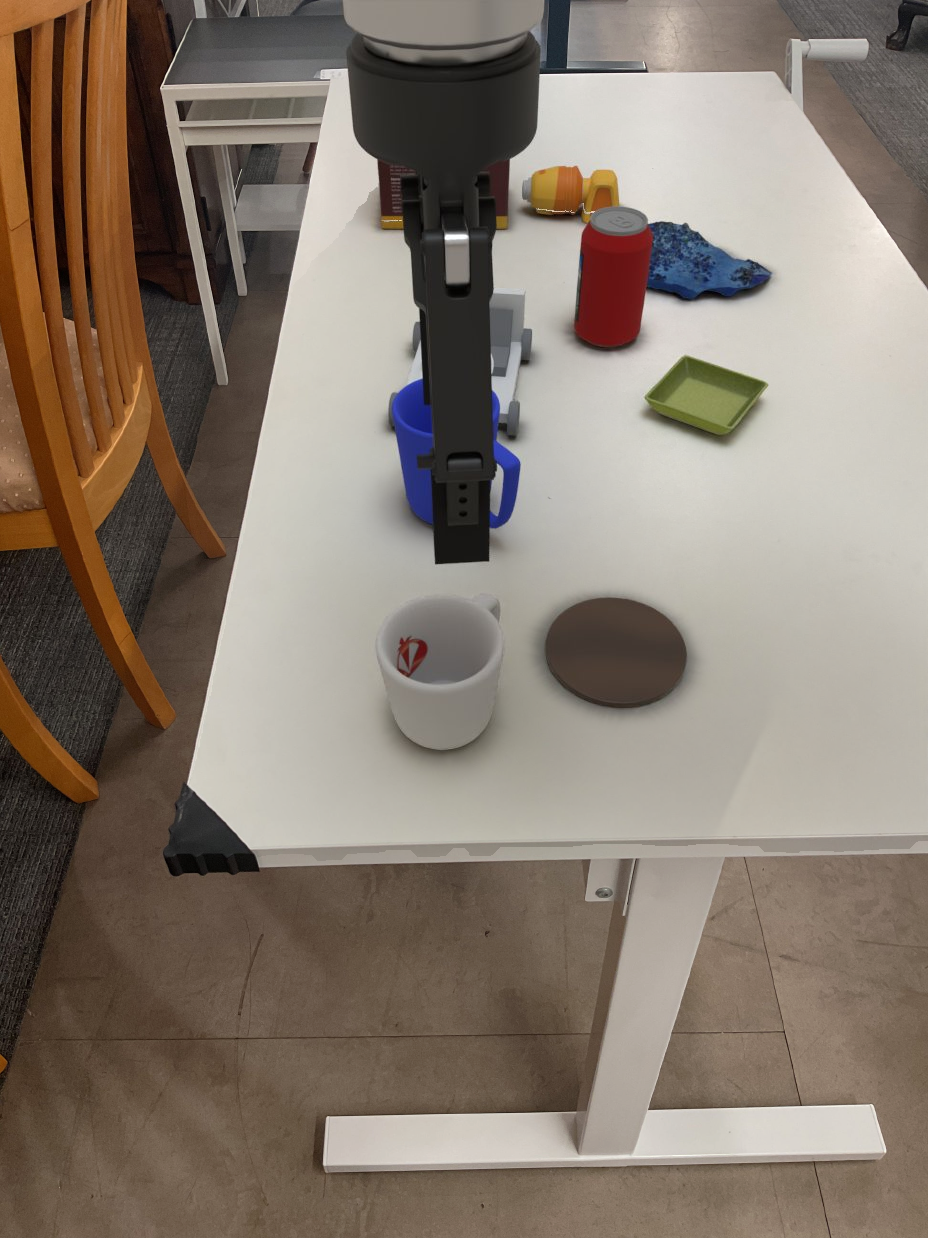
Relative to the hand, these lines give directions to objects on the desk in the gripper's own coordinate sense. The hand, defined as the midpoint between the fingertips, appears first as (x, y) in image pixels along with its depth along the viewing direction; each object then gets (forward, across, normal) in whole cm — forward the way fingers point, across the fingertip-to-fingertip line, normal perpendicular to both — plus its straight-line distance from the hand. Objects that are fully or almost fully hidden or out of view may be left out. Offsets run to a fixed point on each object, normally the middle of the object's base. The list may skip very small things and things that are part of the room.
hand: (453, 472), depth 51 cm
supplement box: (+19, -75, +3) cm, 77 cm away
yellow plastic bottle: (+19, -73, +19) cm, 77 cm away
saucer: (+19, -31, +25) cm, 44 cm away
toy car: (+19, -35, +3) cm, 40 cm away
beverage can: (+19, -45, +18) cm, 52 cm away
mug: (+19, -18, +2) cm, 26 cm away
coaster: (+19, -2, +11) cm, 22 cm away
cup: (+19, +1, 0) cm, 19 cm away
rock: (+19, -57, +29) cm, 67 cm away
